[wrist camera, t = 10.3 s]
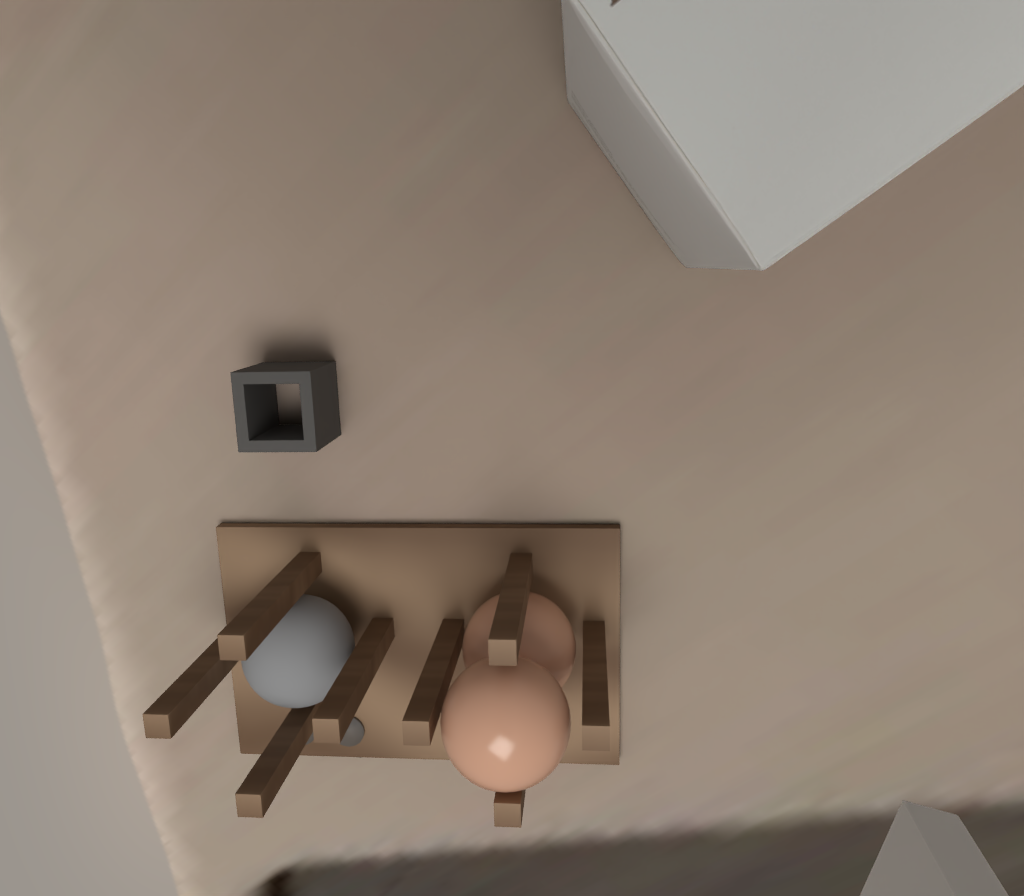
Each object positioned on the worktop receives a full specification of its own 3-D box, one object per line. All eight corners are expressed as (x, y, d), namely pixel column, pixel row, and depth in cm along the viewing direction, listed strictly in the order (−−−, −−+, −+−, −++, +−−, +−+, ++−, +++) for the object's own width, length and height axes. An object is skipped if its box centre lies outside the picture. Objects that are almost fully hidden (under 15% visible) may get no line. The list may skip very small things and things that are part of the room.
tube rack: (221, 523, 39) (109, 603, 30) (619, 524, 38) (630, 609, 28) (245, 746, 42) (149, 883, 33) (618, 757, 40) (628, 905, 31)
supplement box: (685, 276, 35) (754, 286, 20) (562, 97, 34) (543, -27, 19) (873, 140, 33) (1099, 44, 19) (750, -54, 32) (887, -318, 17)
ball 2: (469, 577, 38) (452, 608, 33) (576, 578, 38) (574, 610, 33) (471, 679, 39) (455, 726, 34) (576, 682, 38) (575, 729, 34)
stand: (262, 362, 37) (230, 372, 34) (335, 361, 37) (310, 371, 34) (269, 435, 38) (238, 452, 35) (340, 434, 38) (316, 451, 34)
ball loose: (504, 608, 31) (491, 716, 27) (598, 672, 33) (598, 783, 29) (426, 669, 34) (402, 776, 30) (517, 726, 35) (506, 836, 31)
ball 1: (261, 577, 39) (215, 622, 34) (363, 578, 39) (331, 623, 34) (270, 672, 40) (227, 729, 35) (370, 674, 40) (340, 732, 35)
